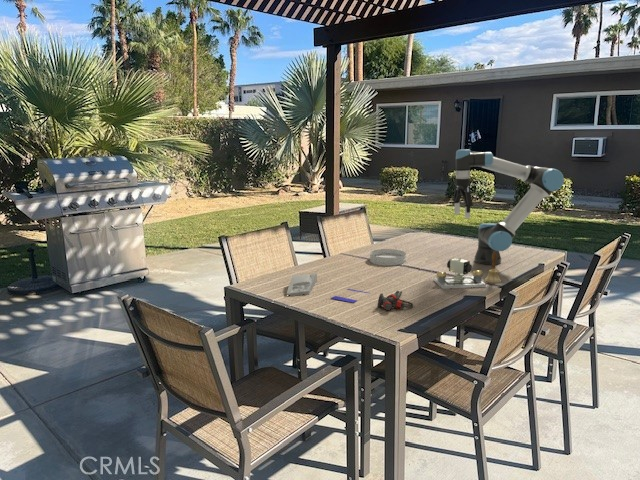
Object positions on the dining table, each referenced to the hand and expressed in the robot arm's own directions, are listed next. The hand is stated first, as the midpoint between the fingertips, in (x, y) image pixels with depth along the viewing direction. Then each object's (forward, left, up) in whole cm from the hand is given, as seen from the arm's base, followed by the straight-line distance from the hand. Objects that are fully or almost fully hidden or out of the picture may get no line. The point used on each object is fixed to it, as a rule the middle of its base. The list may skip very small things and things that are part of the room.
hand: (462, 216), depth 267 cm
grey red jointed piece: (+48, +53, -31) cm, 78 cm away
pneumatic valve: (+11, +28, -29) cm, 42 cm away
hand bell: (-8, +25, -30) cm, 40 cm away
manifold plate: (+11, +28, -30) cm, 43 cm away
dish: (+37, -23, -31) cm, 53 cm away
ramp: (+91, +25, -31) cm, 99 cm away
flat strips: (+66, +36, -31) cm, 82 cm away
